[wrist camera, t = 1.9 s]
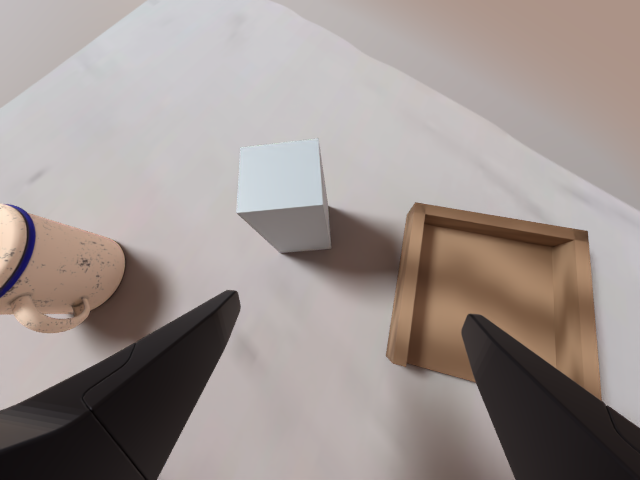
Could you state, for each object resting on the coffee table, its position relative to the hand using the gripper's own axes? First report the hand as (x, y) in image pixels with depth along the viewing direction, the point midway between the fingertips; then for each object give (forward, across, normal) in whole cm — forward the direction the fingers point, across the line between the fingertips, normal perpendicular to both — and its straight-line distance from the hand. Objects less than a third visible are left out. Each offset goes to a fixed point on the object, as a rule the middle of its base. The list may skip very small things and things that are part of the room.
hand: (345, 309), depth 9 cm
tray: (+12, -12, +8) cm, 18 cm away
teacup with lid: (+10, +28, +10) cm, 31 cm away
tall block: (+16, +5, +4) cm, 17 cm away
